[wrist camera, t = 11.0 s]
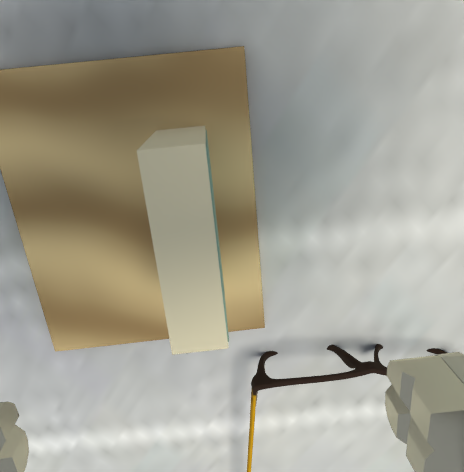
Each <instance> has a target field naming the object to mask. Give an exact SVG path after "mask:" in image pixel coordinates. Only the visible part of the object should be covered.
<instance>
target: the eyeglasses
mask: <svg viewBox="0 0 464 472" xmlns="http://www.w3.org/2000/svg"><path fill="white" fill-rule="evenodd" d="M382 348H383V346H382V345H380V344H377V345H376V347H375V351H374V362H370V361H368V362H360V361H358V360H357V359H355V358H354V357H353V356H351V355H350V354H348V353H347V352H346V351H344V350H342V349H341V348H339V347H337V346H334V345H330V346H328V347H327V350H331V351H333V352H335V353H336V354H337V355H338V356H339V357H340V358H341V359H342V360H343V362H344V363H345V364H346V365H347V366H348V367H350V368H355V369H354V370H352V371H349V372H344V373H338V374H331V375H322V376H312V377H301V378H289V379H272V378H269V377H268V376H267V375H266V373H265V369H264V364H265V361H266V360H267V359H268V358H269V357H271V356H273V355H276V354H278V353H277V352H275V351H268V352H266V353H264V354H263V355H262V356H261V358H260V360H259V364H258V369H257V373H256V375H255V376H254V377H253V379H252V382H251V385H252V392H251V410H250V429H249V446H248V462H247V472H251V462H252V449H253V435H254V421H255V407H256V401H257V393H258V392H257V391H259V390H262V389H267V388H273V387H280V386H287V385H296V384H307V383H317V382H326V381H334V380H342V379H348V378H353V377H358V376H362V375H366V374H370V373H377V374H381V375H386V376H387V367H385V366H383V365H382V364H381V363H380V361H379V358H378V352H379V350H380V349H382ZM427 351H428V352H431V353H435V354H445V353H447V352H445V351H443V350H440V349H435V348H432V349H428V350H427Z"/></svg>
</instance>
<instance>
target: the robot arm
mask: <svg viewBox="0 0 464 472" xmlns="http://www.w3.org/2000/svg"><path fill="white" fill-rule="evenodd" d="M387 377H388V379H389V380H390V382H391V384H392V385H391V386H390V387H389V388H388V389H387V391H386V392H385V406H386V412H387V417H388V420H389V423H390V426H391V428H392V430H393V432H394V434H395V436H396V437H397V438H398V439H400V440H401V441H403V442H404V443H406V444H407V450H406V456H407V458H408V460H409V462H410V464H411V466H412V468H413V469H414V471H415V472H464V354H462V353H459V352H453V353H445V354H438V355H435V356H425V357H416V358H407V359H399V360H390V362H389V364H388V366H387ZM18 417H19V413H18V411H17V409H16V406H15V404H14V403H11V402H0V472H24V471H25V468H26V465H27V459H28V454H29V447H28V439H27V436H26V433H25V431H24V430H22V429H21V428H20V427H18V426H17V425H15V423H16V421H17V419H18Z"/></svg>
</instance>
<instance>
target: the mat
mask: <svg viewBox="0 0 464 472" xmlns="http://www.w3.org/2000/svg"><path fill="white" fill-rule="evenodd" d="M195 126H205V129H206V130H207V137H208V146H209V155H210V164H211V173H212V182H213V191H214V200H215V209H216V218H217V227H218V236H219V245H220V254H221V263H222V272H223V281H224V292H225V303H226V313H227V324H228V332H231V331H240V330H248V329H257V328H265V324H264V310H263V297H262V283H261V269H260V256H259V242H258V228H257V215H256V201H255V187H254V174H253V160H252V146H251V133H250V119H249V105H248V92H247V78H246V64H245V51H244V46H242V47H231V48H221V49H210V50H200V51H190V52H179V53H169V54H159V55H148V56H138V57H127V58H117V59H107V60H96V61H86V62H75V63H65V64H55V65H44V66H34V67H23V68H13V69H3V70H0V169H1V173H2V176H3V179H4V183H5V186H6V189H7V193H8V196H9V199H10V202H11V206H12V209H13V212H14V216H15V219H16V222H17V226H18V229H19V232H20V236H21V239H22V242H23V246H24V249H25V252H26V256H27V259H28V262H29V266H30V269H31V272H32V276H33V279H34V282H35V286H36V289H37V292H38V296H39V299H40V302H41V306H42V309H43V312H44V316H45V319H46V322H47V326H48V329H49V332H50V336H51V339H52V342H53V346H54V349H55V351H64V350H73V349H82V348H90V347H99V346H108V345H117V344H126V343H134V342H143V341H152V340H161V339H169V333H168V327H167V322H166V316H165V310H164V304H163V299H162V293H161V287H160V282H159V276H158V270H157V264H156V259H155V253H154V247H153V242H152V236H151V230H150V224H149V219H148V213H147V207H146V202H145V196H144V190H143V184H142V179H141V173H140V167H139V162H138V156H137V150H138V149H139V148H140V147H141V146H142V145H143V143H144V142H145V141H146V140H147V139H148V138H149V137H150V136H151V135H152V134H153V133H154V132H155V131H156V130H165V129H175V128H185V127H195Z"/></svg>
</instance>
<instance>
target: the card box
mask: <svg viewBox="0 0 464 472" xmlns="http://www.w3.org/2000/svg"><path fill="white" fill-rule="evenodd" d="M137 156H138V162H139V167H140V173H141V179H142V184H143V190H144V196H145V202H146V207H147V213H148V219H149V224H150V230H151V236H152V242H153V247H154V253H155V259H156V264H157V270H158V276H159V282H160V287H161V293H162V299H163V304H164V310H165V316H166V322H167V327H168V333H169V339H170V344H171V350H172V355H174V354H183V353H191V352H200V351H209V350H217V349H226V348H228V342H229V335H228V324H227V313H226V303H225V292H224V281H223V272H222V263H221V254H220V245H219V236H218V227H217V218H216V209H215V200H214V191H213V182H212V173H211V164H210V155H209V146H208V137H207V130H206V129H205V126H195V127H185V128H175V129H165V130H156V131H155V132H154V133H153V134H152V135H151V136H150V137H149V138H148V139H147V140H146V141H145V142H144V143H143V145H142V146H141V147H140V148H139V149H138V150H137Z"/></svg>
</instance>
